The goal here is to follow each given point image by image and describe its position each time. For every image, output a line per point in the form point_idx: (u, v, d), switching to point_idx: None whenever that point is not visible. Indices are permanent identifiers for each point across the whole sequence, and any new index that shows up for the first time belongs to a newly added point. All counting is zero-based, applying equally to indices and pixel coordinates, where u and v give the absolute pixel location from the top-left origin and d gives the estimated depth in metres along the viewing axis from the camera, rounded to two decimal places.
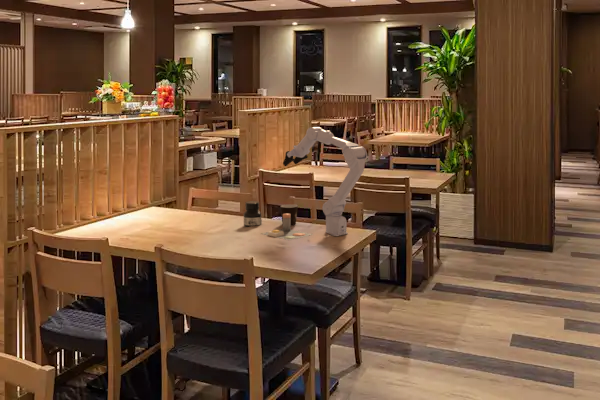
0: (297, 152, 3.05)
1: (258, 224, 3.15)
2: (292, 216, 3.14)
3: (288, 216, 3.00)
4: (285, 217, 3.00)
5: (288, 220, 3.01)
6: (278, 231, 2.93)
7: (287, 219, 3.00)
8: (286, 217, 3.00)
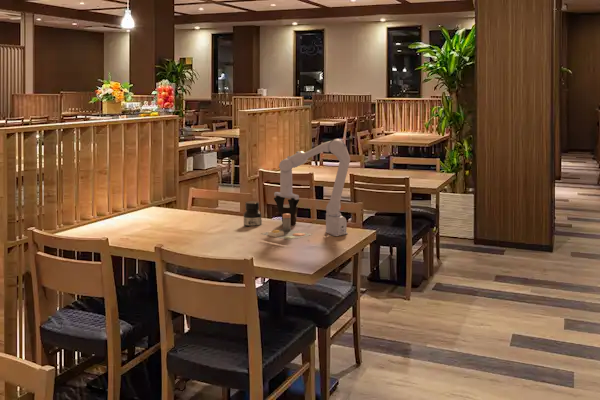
0: (291, 192, 2.99)
1: (258, 224, 3.15)
2: (292, 216, 3.14)
3: (288, 216, 3.00)
4: (285, 217, 3.00)
5: (288, 220, 3.01)
6: (278, 231, 2.93)
7: (287, 219, 3.00)
8: (286, 217, 3.00)
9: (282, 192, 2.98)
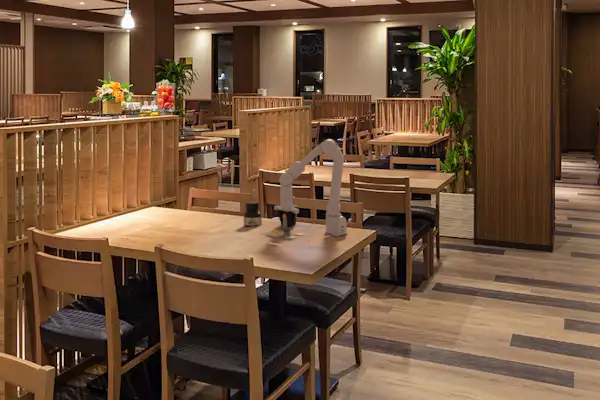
0: (291, 206, 3.00)
1: (258, 224, 3.15)
2: None
3: None
4: (285, 217, 3.00)
5: None
6: (278, 231, 2.93)
7: None
8: (286, 217, 3.00)
9: (282, 206, 2.99)
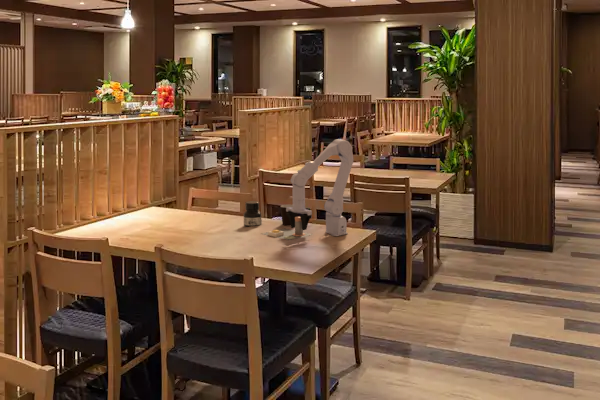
0: (304, 207, 2.91)
1: (258, 224, 3.15)
2: None
3: (300, 219, 2.92)
4: (297, 220, 2.92)
5: (300, 223, 2.92)
6: (278, 231, 2.93)
7: (299, 222, 2.92)
8: (298, 220, 2.92)
9: (294, 207, 2.91)
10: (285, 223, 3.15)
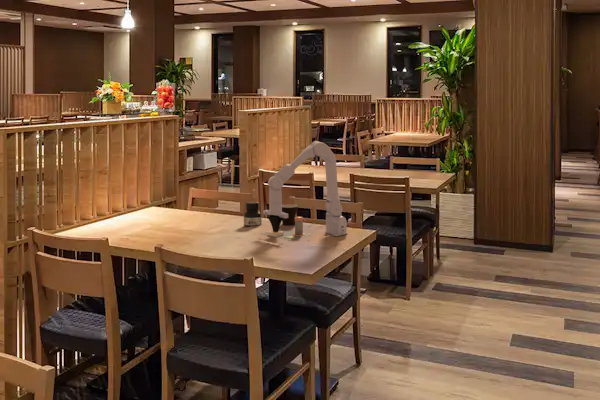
0: (280, 211, 2.91)
1: (258, 224, 3.15)
2: (292, 216, 3.14)
3: (300, 219, 2.92)
4: (297, 220, 2.92)
5: (300, 223, 2.92)
6: (278, 232, 2.93)
7: (299, 222, 2.92)
8: (298, 220, 2.92)
9: (271, 210, 2.90)
10: (285, 223, 3.15)
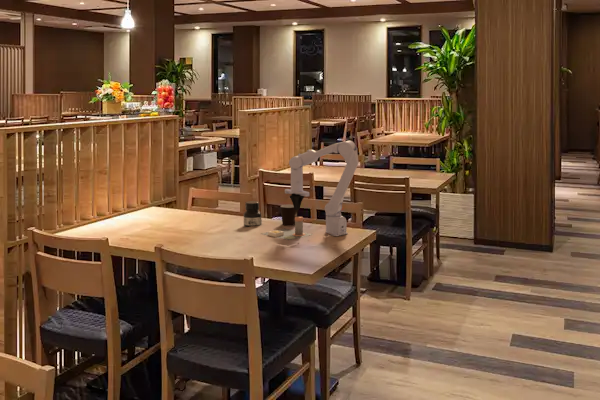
0: (302, 189, 3.01)
1: (258, 224, 3.15)
2: (292, 216, 3.14)
3: (300, 219, 2.92)
4: (297, 220, 2.92)
5: (300, 223, 2.92)
6: (278, 232, 2.93)
7: (299, 222, 2.92)
8: (298, 220, 2.92)
9: (293, 189, 3.00)
10: (285, 223, 3.15)
